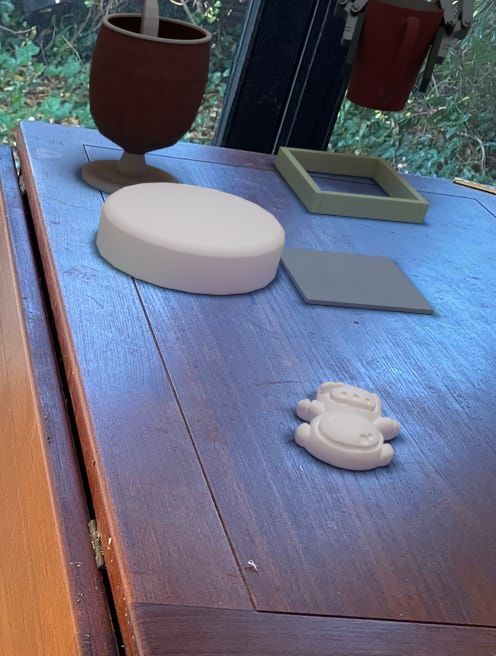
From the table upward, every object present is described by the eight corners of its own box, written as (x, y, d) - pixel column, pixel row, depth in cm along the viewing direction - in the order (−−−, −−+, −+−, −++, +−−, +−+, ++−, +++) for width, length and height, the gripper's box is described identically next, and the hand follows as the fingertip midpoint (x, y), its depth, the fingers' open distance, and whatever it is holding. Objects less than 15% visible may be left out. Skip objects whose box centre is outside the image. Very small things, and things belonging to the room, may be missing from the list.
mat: (388, 261, 115) (390, 257, 115) (432, 314, 105) (434, 310, 105) (272, 250, 114) (273, 246, 113) (305, 303, 104) (307, 298, 103)
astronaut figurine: (402, 417, 87) (415, 386, 85) (384, 482, 79) (398, 449, 77) (304, 388, 89) (315, 357, 87) (277, 449, 81) (288, 416, 79)
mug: (419, 125, 120) (457, 21, 113) (347, 114, 121) (379, 8, 113) (403, 99, 129) (437, 1, 122) (335, 88, 129) (365, -11, 122)
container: (195, 214, 120) (204, 173, 117) (313, 280, 108) (327, 237, 105) (60, 231, 111) (66, 188, 108) (173, 306, 99) (184, 260, 96)
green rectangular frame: (376, 176, 140) (383, 157, 138) (422, 223, 127) (430, 203, 125) (274, 165, 138) (279, 146, 136) (310, 212, 125) (316, 192, 123)
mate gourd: (193, 206, 122) (235, 17, 109) (81, 195, 120) (111, 3, 107) (170, 164, 133) (205, -11, 120) (68, 154, 132) (92, -25, 118)
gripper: (512, -57, 123) (465, 113, 122) (339, -86, 126) (292, 81, 125) (536, -107, 116) (486, 74, 115) (351, -136, 119) (301, 40, 118)
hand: (385, 77), depth 120 cm, fingers closed on mug, 9 cm apart
